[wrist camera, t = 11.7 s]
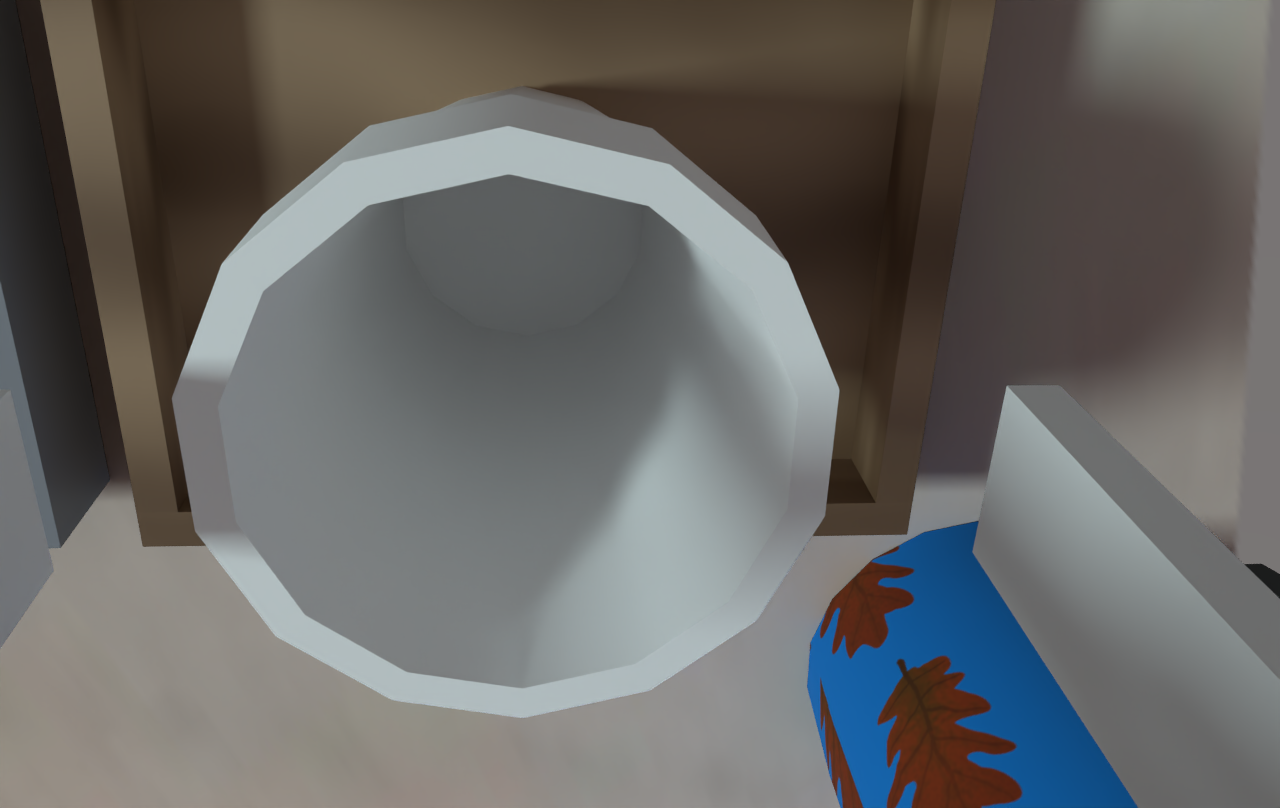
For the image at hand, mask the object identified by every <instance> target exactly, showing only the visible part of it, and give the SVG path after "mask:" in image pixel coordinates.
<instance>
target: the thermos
mask: <svg viewBox="0 0 1280 808" xmlns="http://www.w3.org/2000/svg"><path fill="white" fill-rule="evenodd" d="M978 523H979V521H977V522H972V523H967V524H963V525H958V526H953V527H948V528H943V529H938V530H934V531H929V532H924V533H922V534H920V535H918V536H916V537H914V538H913V539H911V540H909V541H907V542H905V543H903V544H901V545H899V546H897V547H896V548H894V549H892V550H890V551H888V552H886V553H884V554H882V555H880V556H878V557H877V558H875V559H873V560H872V561H870V562H869V563H868V564H867V565H866V566H865V567H864V568H863V569H862V570H861V571H860V572H859V573H858V574H857V575H856V576H855V577H854V578H853V579H852V580H851V581H850V582H849V583H848V584H847V585H846V586H845V587H844V588H843V589H842V590H841V591H840V592H839V593H838V594H837V595H836V596H835V597H834V598H833V599H832V601H831V603H830V605H829V607H828V609H827V611H826V613H825V615H824V617H823V619H822V621H821V623H820V625H819V627H818V629H817V631H816V633H815V635H814V637H813V639H812V641H811V643H810V657H809V671H808V684H807V688H808V692H809V696H810V699H811V703H812V707H813V711H814V715H815V719H816V723H817V727H818V731H819V735H820V739H821V743H822V747H823V750H824V754H825V758H826V762H827V766H828V770H829V774H830V777H831V780H832V783H833V786H834V789H835V792H836V795H837V798H838V801H839V804H840V807H841V808H1138V806H1137V805H1136V803H1135V802H1134V800H1133V799H1132V797H1131V796H1130V794H1129V793H1128V791H1127V790H1126V788H1125V786H1124V785H1123V783H1122V782H1121V780H1120V779H1119V777H1118V776H1117V774H1116V773H1115V771H1114V770H1113V768H1112V766H1111V765H1110V763H1109V762H1108V760H1107V759H1106V757H1105V756H1104V754H1103V753H1102V751H1101V749H1100V748H1099V746H1098V745H1097V743H1096V742H1095V740H1094V739H1093V737H1092V736H1091V734H1090V733H1089V731H1088V729H1087V728H1086V726H1085V725H1084V723H1083V722H1082V720H1081V719H1080V717H1079V716H1078V714H1077V713H1076V711H1075V709H1074V708H1073V706H1072V705H1071V703H1070V702H1069V700H1068V699H1067V697H1066V696H1065V694H1064V692H1063V691H1062V689H1061V688H1060V686H1059V685H1058V683H1057V682H1056V680H1055V679H1054V677H1053V676H1052V674H1051V672H1050V671H1049V669H1048V668H1047V666H1046V665H1045V663H1044V662H1043V660H1042V659H1041V657H1040V656H1039V654H1038V652H1037V651H1036V649H1035V648H1034V646H1033V645H1032V643H1031V642H1030V640H1029V639H1028V637H1027V635H1026V634H1025V632H1024V631H1023V629H1022V628H1021V626H1020V625H1019V623H1018V622H1017V620H1016V619H1015V617H1014V615H1013V614H1012V612H1011V611H1010V609H1009V608H1008V606H1007V605H1006V603H1005V602H1004V600H1003V599H1002V597H1001V595H1000V594H999V592H998V591H997V589H996V588H995V586H994V585H993V583H992V582H991V580H990V578H989V577H988V575H987V574H986V572H985V571H984V569H983V568H982V566H981V565H980V563H979V562H978V560H977V558H976V557H975V555H974V554H973V547H974V542H975V537H976V532H977V527H978Z"/></svg>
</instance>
